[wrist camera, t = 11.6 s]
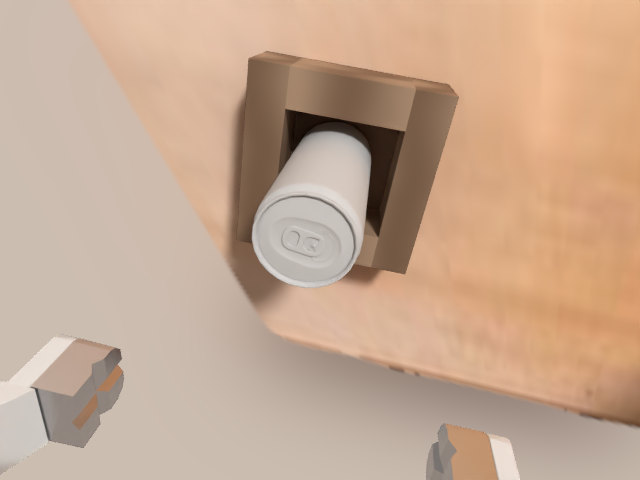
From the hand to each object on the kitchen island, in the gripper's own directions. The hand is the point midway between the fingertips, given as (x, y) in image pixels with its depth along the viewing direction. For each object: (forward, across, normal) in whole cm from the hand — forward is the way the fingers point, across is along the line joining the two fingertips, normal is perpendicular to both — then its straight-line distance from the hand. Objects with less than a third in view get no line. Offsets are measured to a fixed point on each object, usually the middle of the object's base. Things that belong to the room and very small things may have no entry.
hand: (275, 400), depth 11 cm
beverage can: (+20, +1, 0) cm, 20 cm away
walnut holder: (+20, +1, 0) cm, 20 cm away
